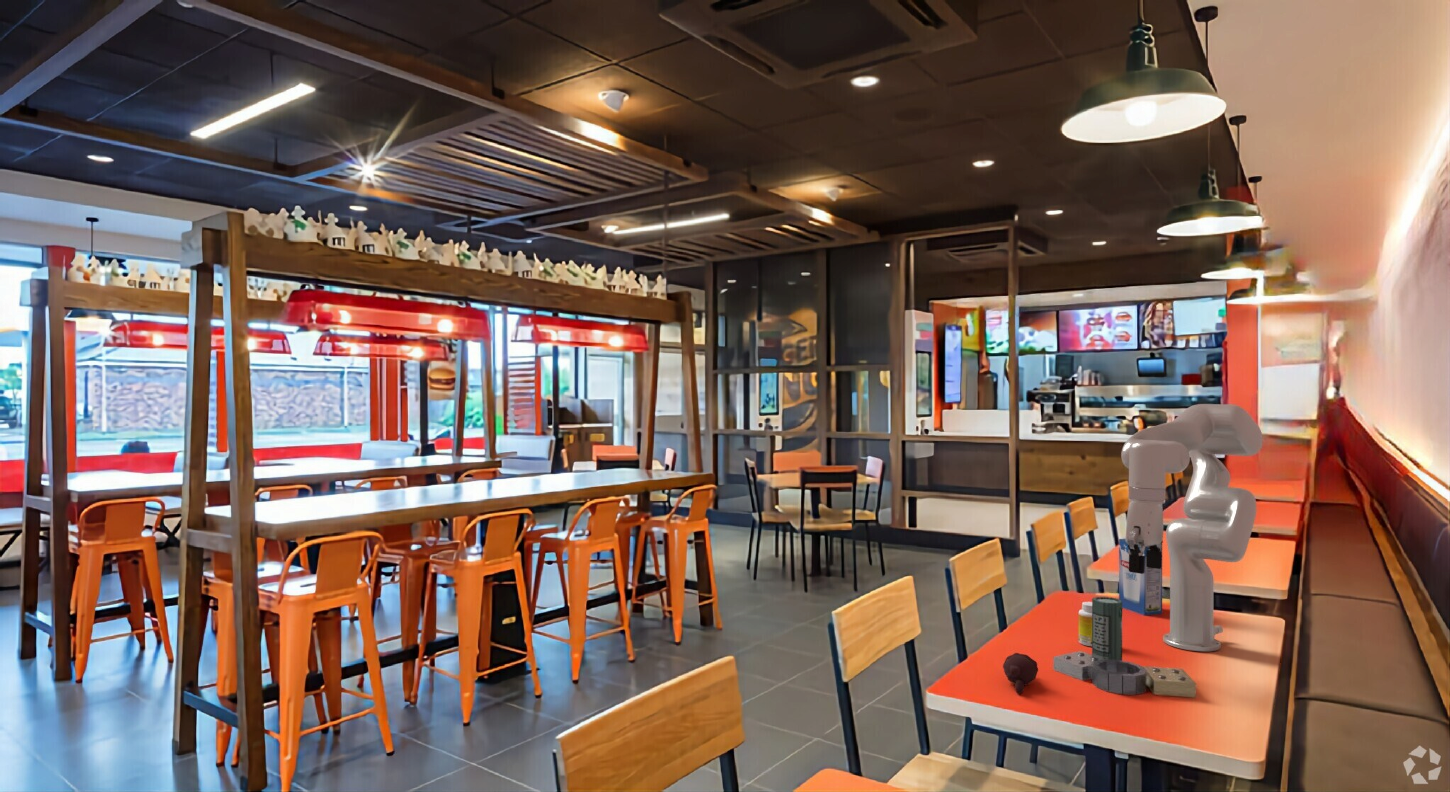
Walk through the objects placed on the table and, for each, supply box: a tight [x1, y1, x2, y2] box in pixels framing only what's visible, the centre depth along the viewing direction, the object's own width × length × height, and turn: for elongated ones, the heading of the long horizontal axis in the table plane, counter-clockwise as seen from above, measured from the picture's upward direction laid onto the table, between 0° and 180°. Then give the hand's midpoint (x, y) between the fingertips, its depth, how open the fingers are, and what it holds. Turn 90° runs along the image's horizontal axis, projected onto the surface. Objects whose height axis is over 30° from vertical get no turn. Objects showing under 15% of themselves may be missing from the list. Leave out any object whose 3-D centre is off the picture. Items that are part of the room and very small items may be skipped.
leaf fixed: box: [1052, 650, 1148, 696], centre depth 184 cm, size 10×19×4 cm, turn 27°
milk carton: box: [1118, 538, 1163, 616], centre depth 240 cm, size 10×6×20 cm, turn 16°
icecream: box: [1002, 652, 1039, 695], centre depth 182 cm, size 7×7×15 cm
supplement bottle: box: [1078, 601, 1092, 647], centre depth 209 cm, size 6×6×10 cm
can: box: [1091, 596, 1123, 661], centre depth 194 cm, size 6×6×15 cm
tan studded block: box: [1142, 665, 1197, 699], centre depth 178 cm, size 9×8×3 cm
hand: (1145, 570), depth 190 cm, fingers open, 9 cm apart
